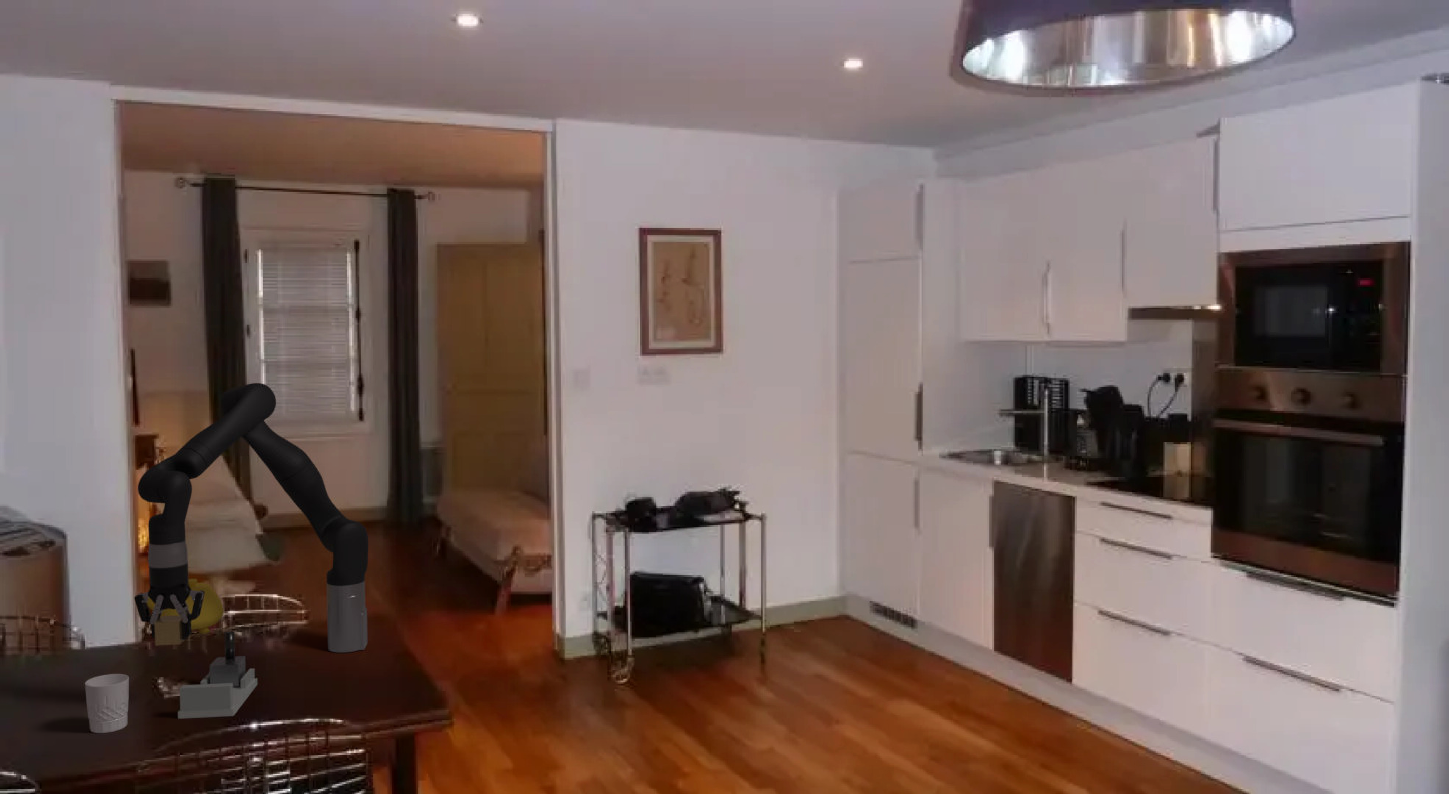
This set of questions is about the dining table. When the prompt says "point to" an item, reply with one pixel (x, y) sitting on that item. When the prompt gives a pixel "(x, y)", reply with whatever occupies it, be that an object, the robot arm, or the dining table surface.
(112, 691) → the white cup
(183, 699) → the press
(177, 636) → the tan cube
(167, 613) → the teapot
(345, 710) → the dining table surface
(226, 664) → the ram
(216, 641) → the dining table surface
